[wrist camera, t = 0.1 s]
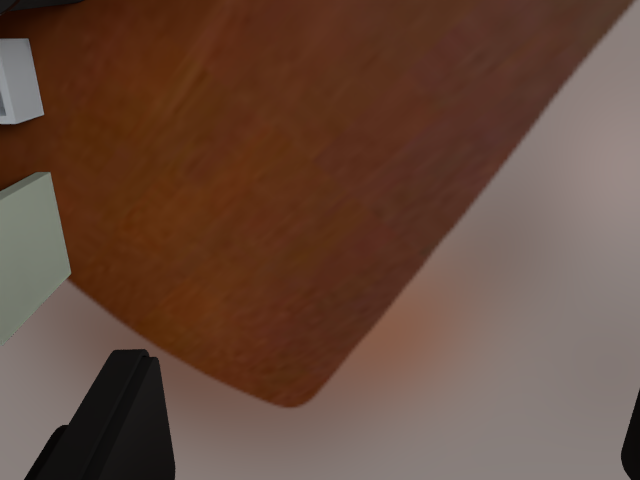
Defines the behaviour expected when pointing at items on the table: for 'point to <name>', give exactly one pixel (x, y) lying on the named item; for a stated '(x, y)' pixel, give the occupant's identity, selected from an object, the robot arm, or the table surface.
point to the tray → (18, 83)
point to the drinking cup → (30, 4)
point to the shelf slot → (29, 250)
